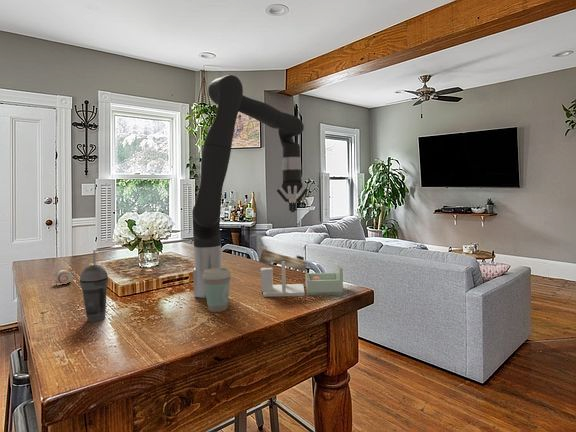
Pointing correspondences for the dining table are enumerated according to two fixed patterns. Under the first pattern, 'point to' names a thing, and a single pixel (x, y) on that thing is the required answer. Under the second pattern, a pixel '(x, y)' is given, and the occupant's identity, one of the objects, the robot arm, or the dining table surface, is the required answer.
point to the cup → (325, 282)
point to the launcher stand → (278, 290)
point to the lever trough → (277, 258)
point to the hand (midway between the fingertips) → (292, 212)
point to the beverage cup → (94, 291)
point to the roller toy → (63, 276)
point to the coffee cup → (217, 288)
